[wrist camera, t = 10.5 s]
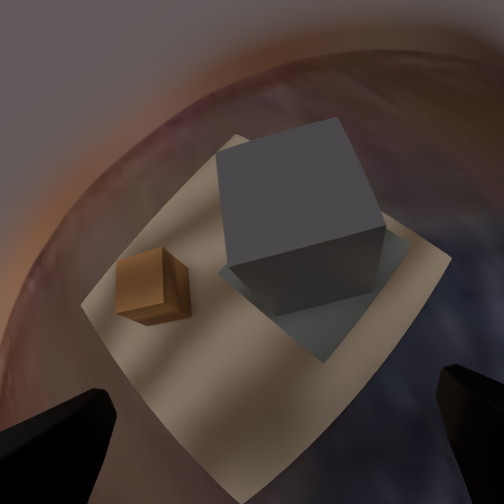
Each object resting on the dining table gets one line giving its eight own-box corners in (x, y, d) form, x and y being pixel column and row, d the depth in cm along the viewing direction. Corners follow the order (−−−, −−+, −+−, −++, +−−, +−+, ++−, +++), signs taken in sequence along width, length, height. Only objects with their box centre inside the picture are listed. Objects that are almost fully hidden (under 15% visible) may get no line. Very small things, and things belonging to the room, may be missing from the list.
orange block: (192, 317, 23) (163, 302, 19) (147, 326, 23) (115, 313, 20) (188, 268, 24) (162, 246, 21) (146, 279, 25) (116, 260, 22)
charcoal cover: (372, 291, 20) (386, 225, 12) (275, 316, 21) (227, 267, 13) (346, 208, 23) (337, 117, 15) (260, 231, 24) (215, 152, 16)
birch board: (450, 260, 19) (452, 257, 19) (243, 503, 16) (241, 505, 16) (237, 137, 30) (235, 133, 29) (84, 306, 27) (79, 304, 26)
